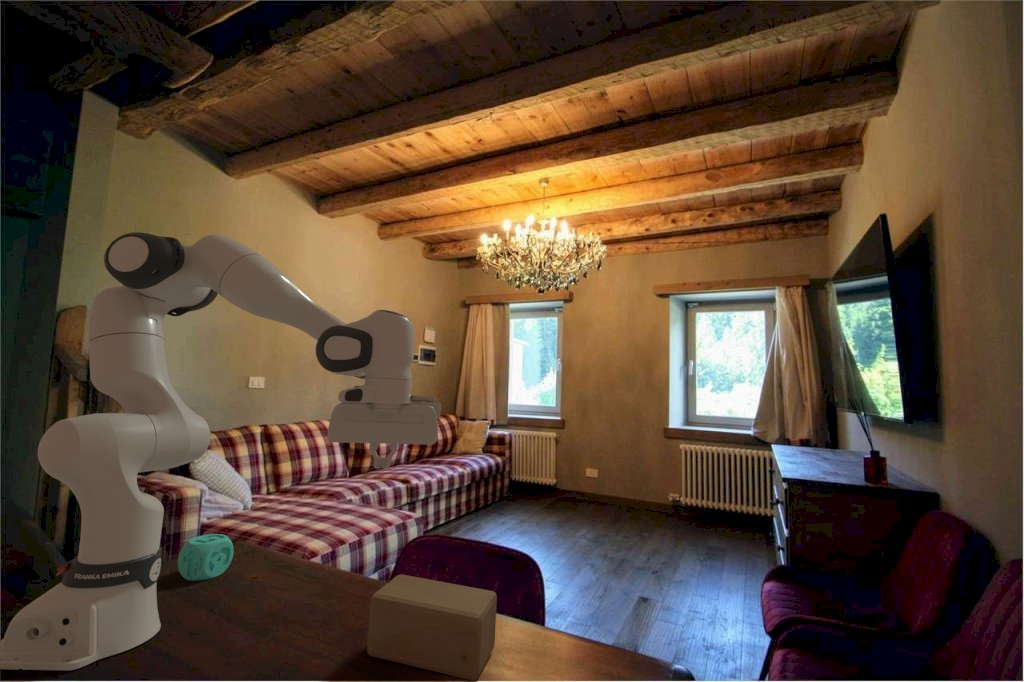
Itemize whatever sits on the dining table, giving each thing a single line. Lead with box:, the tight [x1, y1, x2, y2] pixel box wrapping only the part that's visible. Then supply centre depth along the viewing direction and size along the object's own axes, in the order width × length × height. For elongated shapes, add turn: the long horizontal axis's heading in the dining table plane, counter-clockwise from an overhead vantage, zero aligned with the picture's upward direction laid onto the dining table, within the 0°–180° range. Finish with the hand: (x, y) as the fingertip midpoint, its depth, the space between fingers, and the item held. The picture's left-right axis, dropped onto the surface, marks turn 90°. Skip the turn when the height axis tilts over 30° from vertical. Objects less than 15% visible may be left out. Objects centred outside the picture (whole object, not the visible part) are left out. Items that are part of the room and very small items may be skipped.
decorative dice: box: [177, 533, 235, 582], centre depth 107 cm, size 8×8×8 cm
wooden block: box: [366, 574, 498, 681], centre depth 78 cm, size 10×10×20 cm
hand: (381, 467), depth 85 cm, fingers closed
